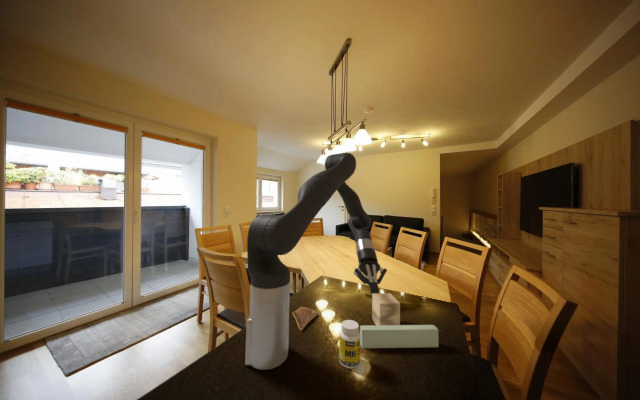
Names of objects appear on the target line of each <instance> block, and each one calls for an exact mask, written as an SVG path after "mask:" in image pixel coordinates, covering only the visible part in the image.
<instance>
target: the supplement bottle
mask: <svg viewBox="0 0 640 400" xmlns="http://www.w3.org/2000/svg"><path fill="white" fill-rule="evenodd" d="M338 343H339V346H338V347H339V351H338V360H339V363H340V364H341V366H343V367H344V368H346V369H352V370H353V369H355V368H357V367H359V366H360V364H361V344H360V326H359V323H358V322H357V321H355V320H352V319H346V320H343V321H341V330H340V331H339V342H338Z"/></svg>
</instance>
